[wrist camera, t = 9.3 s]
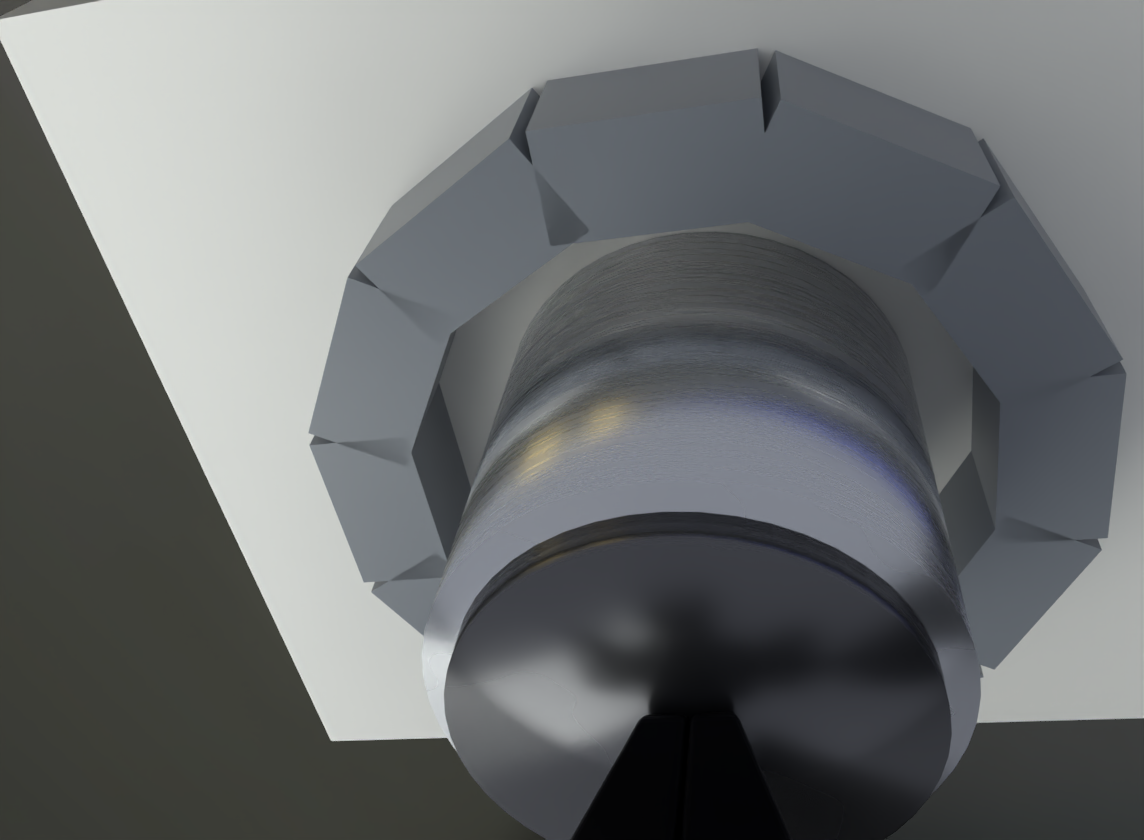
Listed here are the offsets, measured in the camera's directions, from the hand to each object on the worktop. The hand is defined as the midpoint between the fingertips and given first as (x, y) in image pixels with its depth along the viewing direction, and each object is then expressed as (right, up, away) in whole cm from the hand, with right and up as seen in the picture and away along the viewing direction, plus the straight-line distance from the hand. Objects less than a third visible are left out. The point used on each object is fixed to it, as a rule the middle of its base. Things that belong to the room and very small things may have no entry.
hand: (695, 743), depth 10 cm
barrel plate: (+1, +3, +5) cm, 6 cm away
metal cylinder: (+1, +3, +4) cm, 5 cm away
